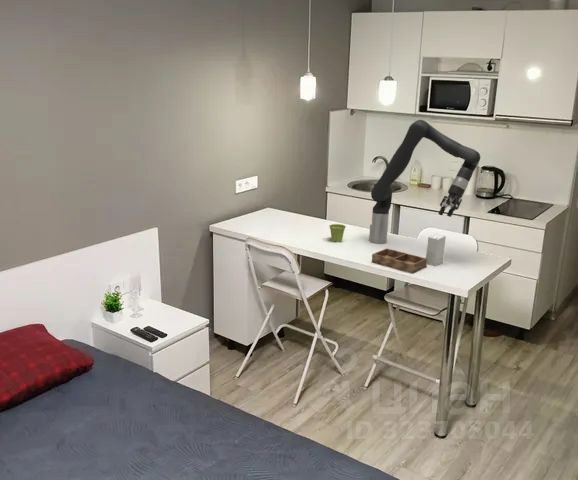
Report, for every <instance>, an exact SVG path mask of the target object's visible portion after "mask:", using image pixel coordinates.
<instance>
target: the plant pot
mask: <svg viewBox="0 0 578 480" xmlns="http://www.w3.org/2000/svg"><path fill="white" fill-rule="evenodd" d="M328 227H329V230H330V237H331V241H332V242H336V243H339V242H342V241H343V237H344V232H345V229H346V225H344V224H341V223H339V224H338V223H335V224H334V223H333V224H330V225H329V226H328Z"/></svg>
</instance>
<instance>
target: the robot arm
mask: <svg viewBox="0 0 578 480" xmlns="http://www.w3.org/2000/svg"><path fill="white" fill-rule="evenodd" d="M423 138H424V139H427V140H429V141H431V142H433V143H434V144H435V145H437V146H438V147H439V148H440V149H441V150H443V151H444V152H445V153H447V154H449V155H451V156H453V157H455V158H460V159H462V160H463V163H462V165H461V167H460V168H459V170H458V171H457V174H456V176H455V178H454V179H453V180H452V183H451V184H450V187H449V188H448V191H447V193H448V196H447V195H444V196H443V198H442V200H441V201H440V204H439V206H440V209H439V211H438V215H440V216H443V215H444V213H445V211H446V209H447V208H448V207H450V208H449V209H448V212H447V213H446V216H447V217H450V218H451V217H452V216H453V214H454V212H455V211H457V210H459V208H460V206H461V203H462V201H463V199H462V198H463V196H464V194H465V191H466V190H467V187H468V185H469V182H470V181H471V179H472V176H473V174H474V172H475V170H476V169H477V166H478V165H479V163H480V160H481V154H480V153H479V152H478V151H477V150H476V149H475V148H471V147H468V146H466V145H463V144H461V143H460V142H458V141H456V140H454V139H452V138H451V137H449V136H447V135H445V134H443V133H442V132H440V131H439V130H437V129H436V128H435V127H433V126H432V125H431V124H430V123H428V122H427V121H425V120H423V119H417V120H415V121H414V122H413V123H411V124H410V126H409V127H408V128H407V132H406V134H405V136H404V139H402V142H401V144H400V145H399V146H398V147H397V149H396V151H395V152H394V153H393V155H392V157H391V159H390V160H389V163H388V164H387V166H386V168H385V170H384V171H383V173H382V174H381V176H380V177H379V179H378V181H377V182H376V183H375V184H374V186H373V187H372V189H371V192H370V196H371V199H372V200H373V201H374V202H376V203H375V204H374V206H373V207H372V215H371V224H369V225H370V226H369V236H368V237H369V238H368V241H369V242H370V243H373V244H381V245H382V244H386V243H387V240H388V228H389V213H390V209H391V207H392V199H393V190H392V187H391V186H392V184H393V183H394V182H395V181H396V180H397V179H398V178H399V177H400V176H401V175H402V174H403V173H404V172H405V170H406V168H407V167H408V165H409V163H410V161H411V159H412V156H413V154H414V151H415V149H416V147H417V146H418V144H419V143H420V142H421V140H422V139H423Z"/></svg>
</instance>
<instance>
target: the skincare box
mask: <svg viewBox="0 0 578 480" xmlns="http://www.w3.org/2000/svg"><path fill="white" fill-rule="evenodd" d="M427 238H428V239H427V246H426V247H427V248H426V255H425V258H427V265H430V266H433V267H436V266H438V265H441V264H442V263H443V262H444V254H445V245H446V235H443V234H439V233H435V234H433V235H430V236H428V237H427Z"/></svg>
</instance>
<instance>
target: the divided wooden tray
mask: <svg viewBox="0 0 578 480" xmlns="http://www.w3.org/2000/svg"><path fill="white" fill-rule="evenodd" d="M371 263H374V264H375V265H380V266H384V267H388V268H391V269H395V270H397V271H401V272H405V273H409V274H415V273H417V272H420V271H421V270H424V269H425V268H427V266H428V264H427V258H426V257H422V256H419V255H414V254H411V253H407V252H403V251H399V250H395V249H391V248H388V247H386V248H384V249H382V250H379V251H377V252H374V253H372V255H371Z"/></svg>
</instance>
